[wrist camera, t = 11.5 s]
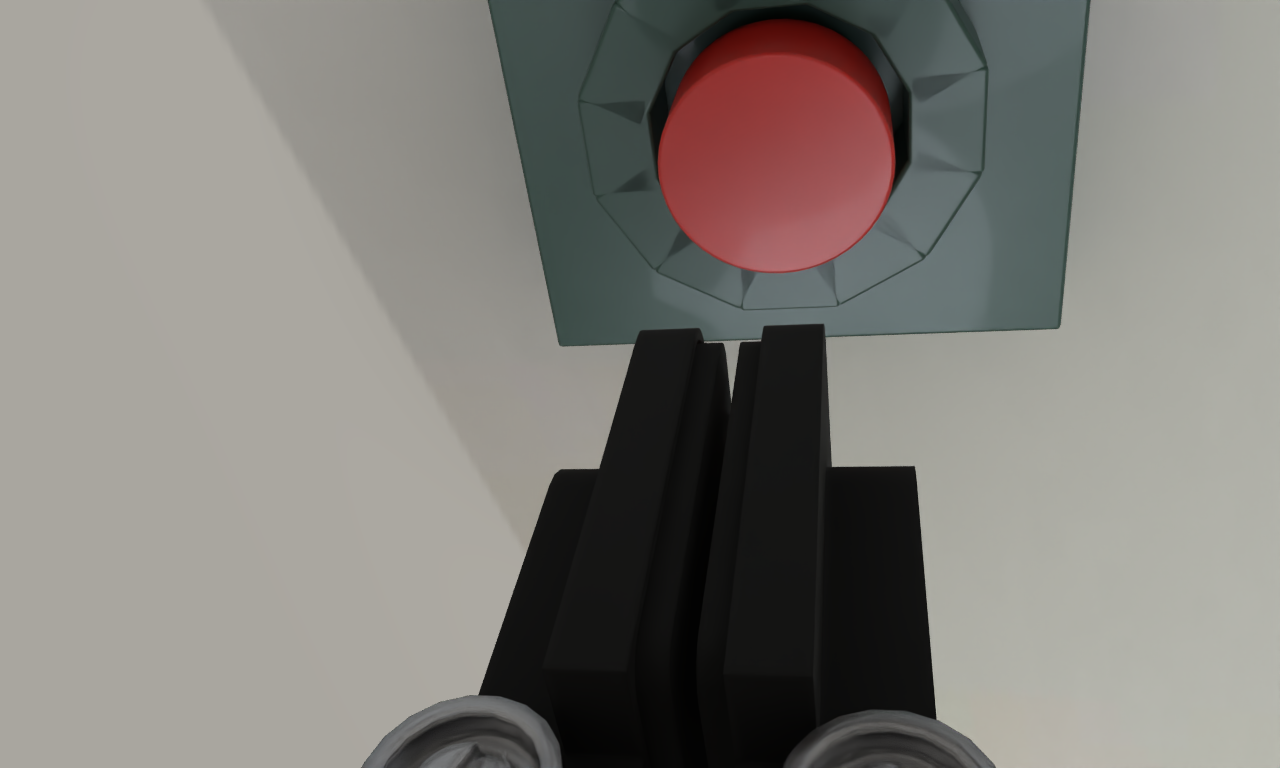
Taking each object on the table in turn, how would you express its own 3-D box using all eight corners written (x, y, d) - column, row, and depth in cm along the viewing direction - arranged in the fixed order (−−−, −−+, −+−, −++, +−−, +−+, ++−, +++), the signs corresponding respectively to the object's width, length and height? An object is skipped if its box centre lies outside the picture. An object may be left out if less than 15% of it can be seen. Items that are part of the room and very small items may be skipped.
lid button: (684, 232, 19) (671, 280, 18) (658, 28, 17) (642, 63, 16) (891, 220, 19) (895, 269, 17) (890, 7, 17) (895, 41, 15)
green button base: (578, 296, 25) (539, 397, 21) (485, -198, 19) (412, -164, 16) (1043, 275, 23) (1077, 382, 19) (1087, -283, 17) (1146, -264, 14)
